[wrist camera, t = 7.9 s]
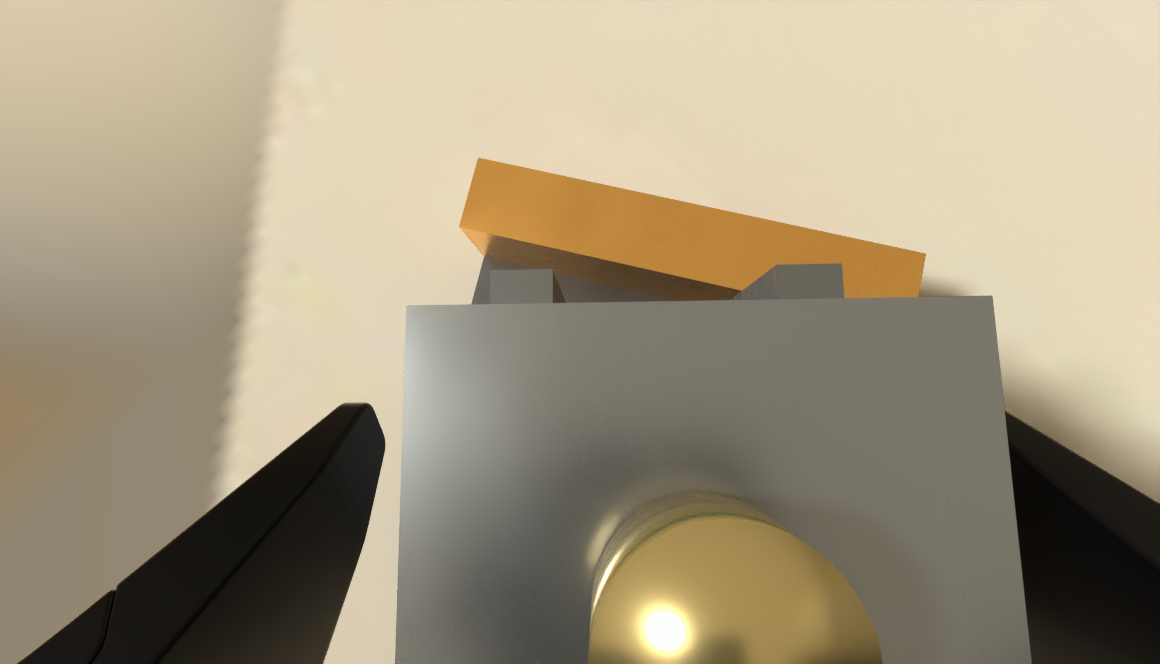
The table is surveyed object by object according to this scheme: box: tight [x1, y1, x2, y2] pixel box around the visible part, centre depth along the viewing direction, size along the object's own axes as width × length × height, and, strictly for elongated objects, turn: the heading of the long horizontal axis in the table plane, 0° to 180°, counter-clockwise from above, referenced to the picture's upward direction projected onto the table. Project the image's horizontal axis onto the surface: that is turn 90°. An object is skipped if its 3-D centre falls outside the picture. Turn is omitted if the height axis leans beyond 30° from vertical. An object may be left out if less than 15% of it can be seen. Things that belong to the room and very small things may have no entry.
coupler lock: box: [395, 263, 1032, 664], centre depth 10 cm, size 6×5×13 cm
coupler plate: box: [459, 158, 926, 305], centre depth 15 cm, size 12×12×4 cm
